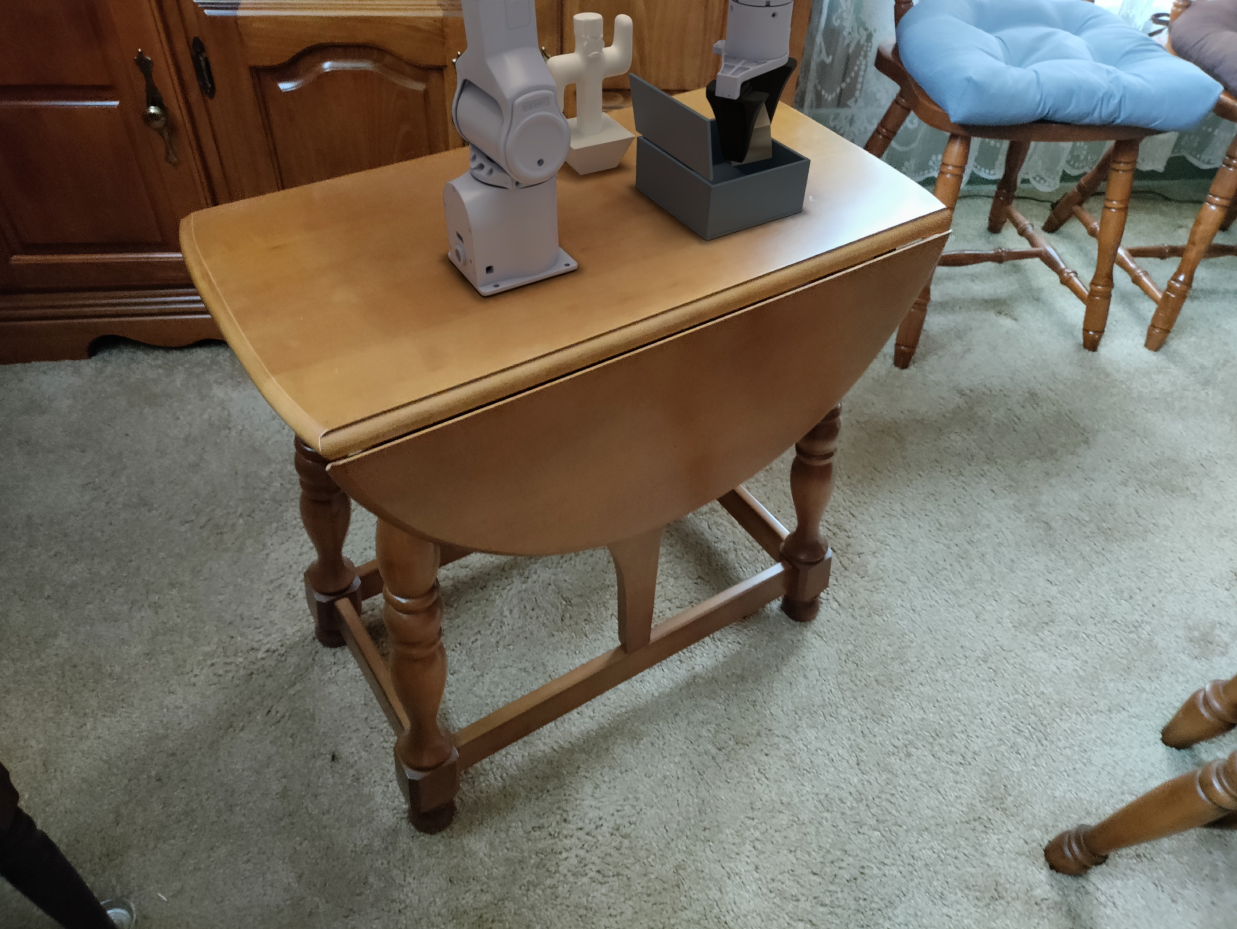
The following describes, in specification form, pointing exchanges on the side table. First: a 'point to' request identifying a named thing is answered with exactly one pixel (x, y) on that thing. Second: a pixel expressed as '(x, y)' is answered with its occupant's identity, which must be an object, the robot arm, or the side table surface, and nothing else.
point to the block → (759, 140)
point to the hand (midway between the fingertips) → (745, 146)
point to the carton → (723, 187)
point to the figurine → (594, 91)
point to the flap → (672, 126)
